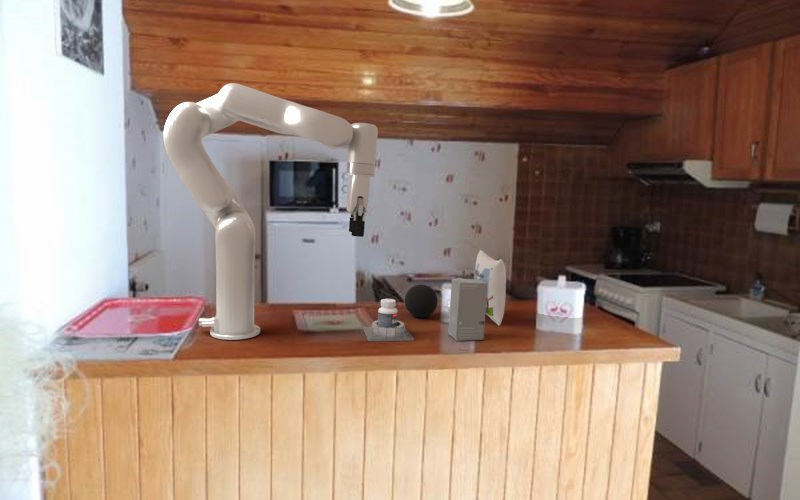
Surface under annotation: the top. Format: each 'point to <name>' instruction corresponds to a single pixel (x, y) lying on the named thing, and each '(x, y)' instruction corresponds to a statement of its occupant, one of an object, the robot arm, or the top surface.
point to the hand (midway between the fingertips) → (356, 234)
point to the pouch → (492, 284)
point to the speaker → (421, 301)
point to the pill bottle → (387, 313)
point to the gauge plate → (388, 332)
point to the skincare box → (467, 309)
